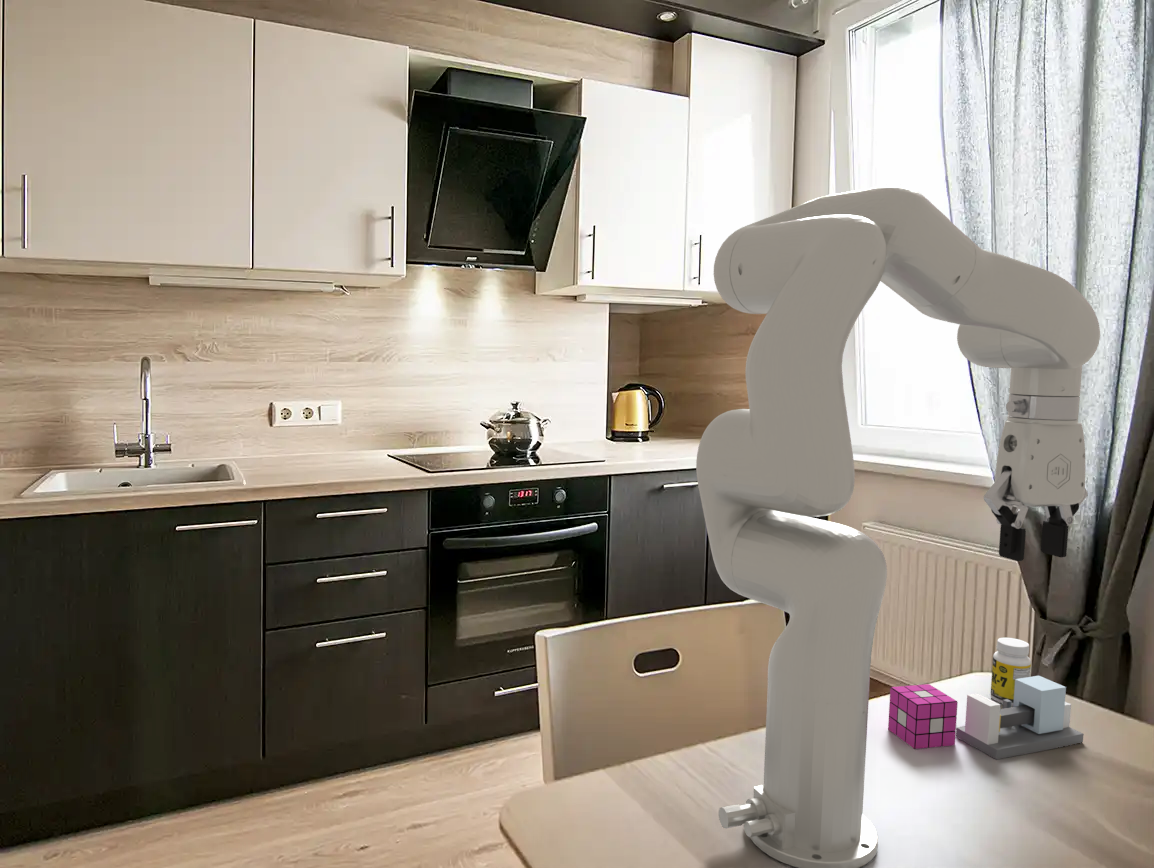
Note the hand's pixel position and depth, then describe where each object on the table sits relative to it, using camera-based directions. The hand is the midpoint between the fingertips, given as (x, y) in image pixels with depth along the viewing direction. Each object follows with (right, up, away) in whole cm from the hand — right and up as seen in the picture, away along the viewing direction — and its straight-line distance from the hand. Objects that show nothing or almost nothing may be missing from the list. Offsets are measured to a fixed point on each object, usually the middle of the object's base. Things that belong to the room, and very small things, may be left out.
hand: (1032, 555), depth 105 cm
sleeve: (+2, -22, +3) cm, 22 cm away
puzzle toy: (-13, -24, +3) cm, 27 cm away
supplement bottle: (+5, -23, +15) cm, 27 cm away
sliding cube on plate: (0, -23, +2) cm, 24 cm away
